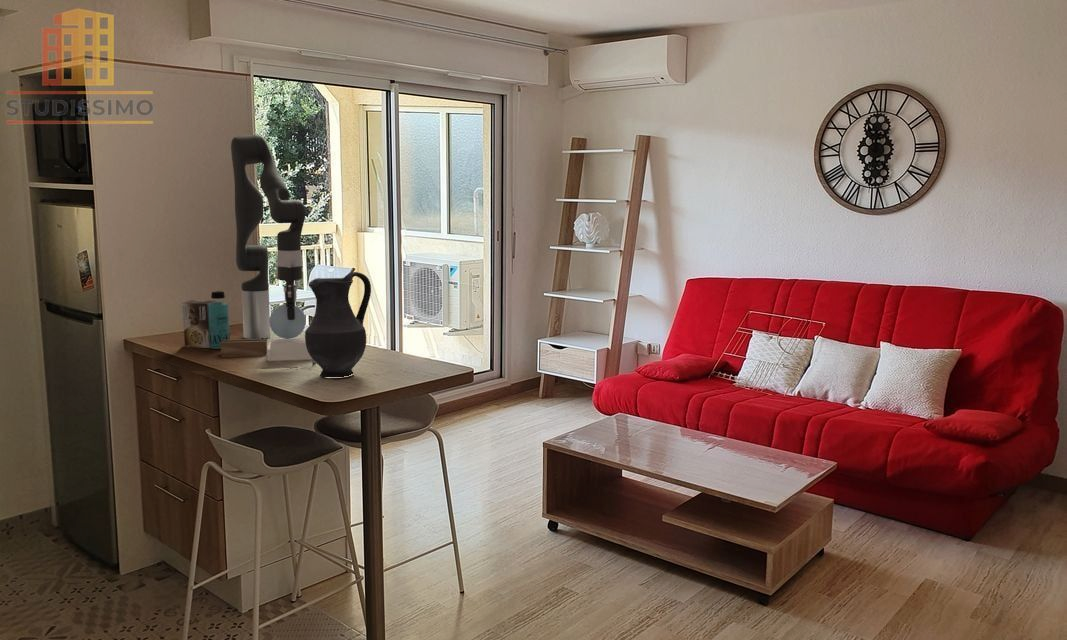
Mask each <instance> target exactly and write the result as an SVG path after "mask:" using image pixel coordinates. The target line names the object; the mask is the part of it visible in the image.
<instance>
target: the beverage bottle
mask: <svg viewBox="0 0 1067 640" xmlns="http://www.w3.org/2000/svg"><path fill="white" fill-rule="evenodd" d="M225 297H226V295H225V292H224V291H222V290H221V291H219V290H217V291H211V298H210V299H214V300H213V301H214V302H211V303H210V304H209V305H208V308H209V340H210V343H209V346H210V348H209V349H217V350H218V349H219V350H221V342H222V340H230V337H231V335H230V317H229V304H228V303H227V302H226V301H224V300H223V301H222V300H220V299H224V298H225ZM215 299H217V300H215Z"/></svg>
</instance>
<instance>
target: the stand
mask: <svg viewBox="0 0 1067 640" xmlns="http://www.w3.org/2000/svg"><path fill="white" fill-rule="evenodd" d="M267 349H268V338H263V339H246V338H243V339H242V338H241V339H229V340H222V342H221V349H220V357H221V358H225V357H229V358H230V357H257V356H258V357H259V356H261V357H263V356H267Z"/></svg>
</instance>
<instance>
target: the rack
mask: <svg viewBox="0 0 1067 640" xmlns="http://www.w3.org/2000/svg"><path fill="white" fill-rule="evenodd" d="M266 359H267V360H266V362H274V361H275V362H277V361H305V360H307V361H308V360H312V364H317V363H316V362H315V361H314V360H313V359H312V358H311V356H310V355H309V353H308V351H307V348H306V343H305V335H298V336H297V337H295V338H291V339H285V338H281V337H279V336H272V338H271V341H270V342H269V344H268V345H267V355H266Z"/></svg>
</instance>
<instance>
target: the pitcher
mask: <svg viewBox="0 0 1067 640" xmlns="http://www.w3.org/2000/svg"><path fill="white" fill-rule="evenodd" d="M354 277H358V279H360V280H361V281H362V283H363V287H364V289H363V291H364V292H363V297H362V300H361V302H360V305H359V308H358V311H357V314H356V315H355V314H354V311H353V309H352V306H351V303H350V301H349V300H350V299H349V293H350V290H351V286H352V284H353V282H354V280H353V278H354ZM308 286H309V288H310V290H311V291H312V292H313V294H314V296H315V299H316V303H315V304H316V305H315V313H314V316H313V319H312V321H311V323H310V324H309V326H308V327H306V329H305V332H304V336H305V343H306V348H307V351H308V353H309V355H310V356H311V358H312V359H311V360H312V361H313V360H314V361H315V362H316V363H315V364H317V365H318V366H319V367H320V368H321V370H322V371H321V372H320V374H319V377H321V378H322V377H344V376H349V375H351V374H353V373H354V371H353V369H354V367H356V365H357V364H358V363H359V362H360V360H361V359H362V358H363V355H364V353H365V350H366V346H367V333H366V329H365V326H364V320H365V315H366V313H367V309H368V306H369V302H370V299H371V294H372V285H371V281H370V279H369V277H367V275H365V274H363V273H361V272H359V271H354V272H353V271H352V272H350V273H348V274H346V275H345V276H344V277H333V278H332V277H329V278H328V277H326V278H325V277H324V278H323V277H322V278H321V277H316V278H314V279H312V280H311V281H309V282H308Z"/></svg>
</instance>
